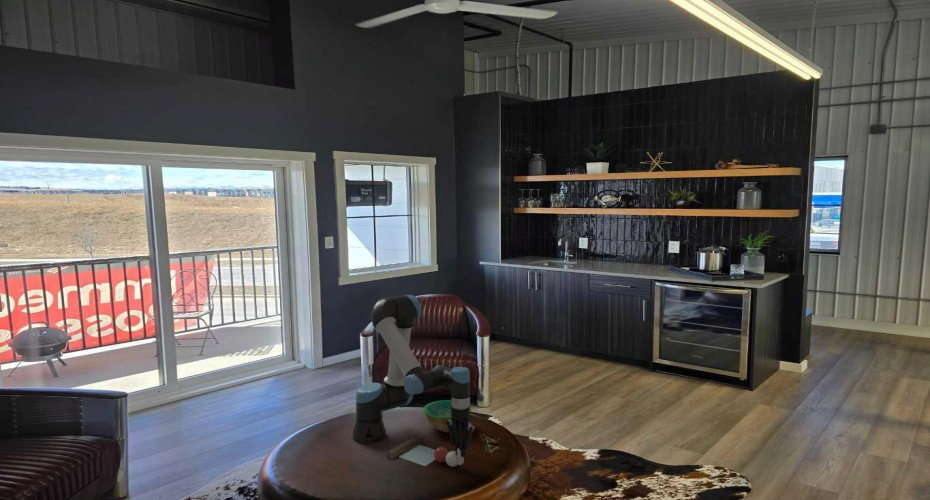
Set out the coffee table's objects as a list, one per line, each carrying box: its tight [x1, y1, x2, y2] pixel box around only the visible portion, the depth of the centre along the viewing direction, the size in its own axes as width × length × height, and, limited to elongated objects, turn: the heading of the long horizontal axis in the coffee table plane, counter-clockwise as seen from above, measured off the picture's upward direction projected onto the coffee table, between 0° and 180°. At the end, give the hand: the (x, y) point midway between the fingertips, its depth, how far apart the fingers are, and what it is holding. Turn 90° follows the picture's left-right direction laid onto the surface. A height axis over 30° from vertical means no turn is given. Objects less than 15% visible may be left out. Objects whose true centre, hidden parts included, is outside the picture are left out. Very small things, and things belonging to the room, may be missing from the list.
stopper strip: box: [386, 435, 423, 460], centre depth 243 cm, size 2×20×2 cm, turn 146°
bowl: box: [422, 399, 472, 433], centre depth 264 cm, size 22×22×10 cm
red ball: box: [434, 446, 449, 463], centre depth 232 cm, size 6×6×6 cm
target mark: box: [398, 444, 436, 467], centre depth 238 cm, size 14×14×1 cm
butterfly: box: [479, 432, 505, 457], centre depth 247 cm, size 18×4×10 cm
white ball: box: [445, 450, 458, 468], centre depth 229 cm, size 6×6×6 cm
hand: (460, 463), depth 227 cm, fingers closed
